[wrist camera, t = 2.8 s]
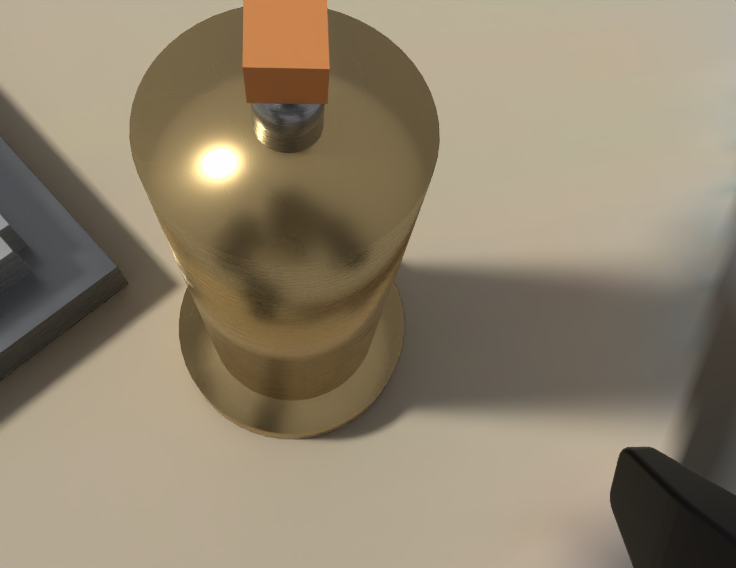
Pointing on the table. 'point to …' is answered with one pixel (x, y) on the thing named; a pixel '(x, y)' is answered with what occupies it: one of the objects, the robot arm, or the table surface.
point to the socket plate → (43, 266)
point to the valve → (287, 206)
